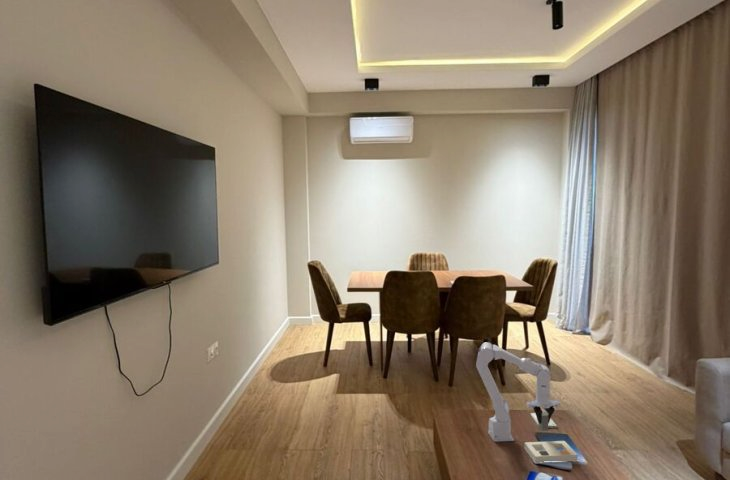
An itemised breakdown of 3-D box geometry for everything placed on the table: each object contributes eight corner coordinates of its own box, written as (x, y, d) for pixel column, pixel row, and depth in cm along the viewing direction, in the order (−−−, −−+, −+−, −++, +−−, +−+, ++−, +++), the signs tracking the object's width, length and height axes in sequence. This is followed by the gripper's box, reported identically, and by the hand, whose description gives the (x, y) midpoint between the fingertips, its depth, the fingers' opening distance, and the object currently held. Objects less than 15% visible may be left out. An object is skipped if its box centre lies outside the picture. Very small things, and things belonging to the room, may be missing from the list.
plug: (541, 430, 169) (541, 413, 168) (538, 427, 172) (538, 410, 171) (548, 430, 169) (548, 413, 168) (544, 426, 172) (544, 409, 171)
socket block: (535, 463, 157) (535, 455, 157) (524, 448, 167) (524, 441, 167) (577, 461, 157) (577, 454, 157) (564, 447, 167) (564, 440, 167)
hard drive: (557, 425, 183) (546, 412, 195) (540, 425, 183) (530, 412, 196) (557, 429, 183) (546, 415, 195) (540, 429, 183) (530, 415, 196)
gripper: (531, 397, 165) (531, 427, 166) (563, 396, 166) (563, 426, 166) (524, 390, 172) (524, 419, 173) (555, 389, 173) (555, 417, 173)
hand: (543, 422), depth 170 cm, fingers closed on plug, 3 cm apart
